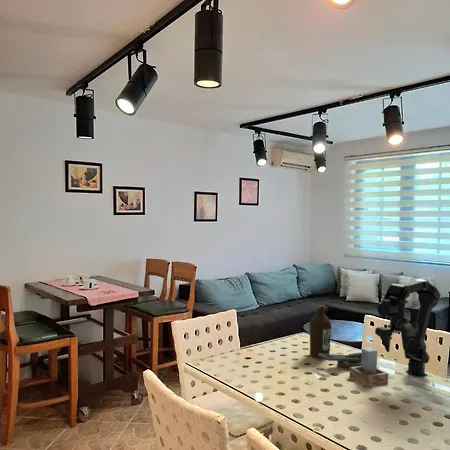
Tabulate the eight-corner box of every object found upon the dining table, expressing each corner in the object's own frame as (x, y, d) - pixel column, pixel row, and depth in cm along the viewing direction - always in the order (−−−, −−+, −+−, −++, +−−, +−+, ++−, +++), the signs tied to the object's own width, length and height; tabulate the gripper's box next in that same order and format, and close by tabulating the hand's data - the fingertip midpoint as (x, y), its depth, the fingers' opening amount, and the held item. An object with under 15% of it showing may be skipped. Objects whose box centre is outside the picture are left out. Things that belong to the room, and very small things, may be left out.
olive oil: (304, 355, 210) (305, 305, 210) (316, 351, 217) (317, 302, 217) (322, 361, 202) (324, 309, 202) (334, 356, 210) (336, 306, 209)
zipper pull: (316, 352, 194) (358, 347, 204) (315, 367, 194) (357, 360, 204) (328, 359, 186) (371, 352, 196) (328, 374, 186) (371, 366, 196)
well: (369, 373, 188) (370, 364, 188) (387, 382, 177) (388, 373, 177) (349, 376, 184) (349, 367, 184) (366, 385, 173) (367, 376, 173)
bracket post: (369, 373, 185) (370, 346, 185) (380, 379, 178) (381, 351, 178) (356, 375, 183) (357, 347, 182) (366, 381, 176) (367, 352, 176)
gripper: (394, 320, 168) (393, 359, 168) (429, 317, 174) (428, 354, 175) (374, 313, 178) (373, 350, 178) (408, 311, 185) (407, 346, 185)
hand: (396, 350), depth 179 cm, fingers open, 9 cm apart
